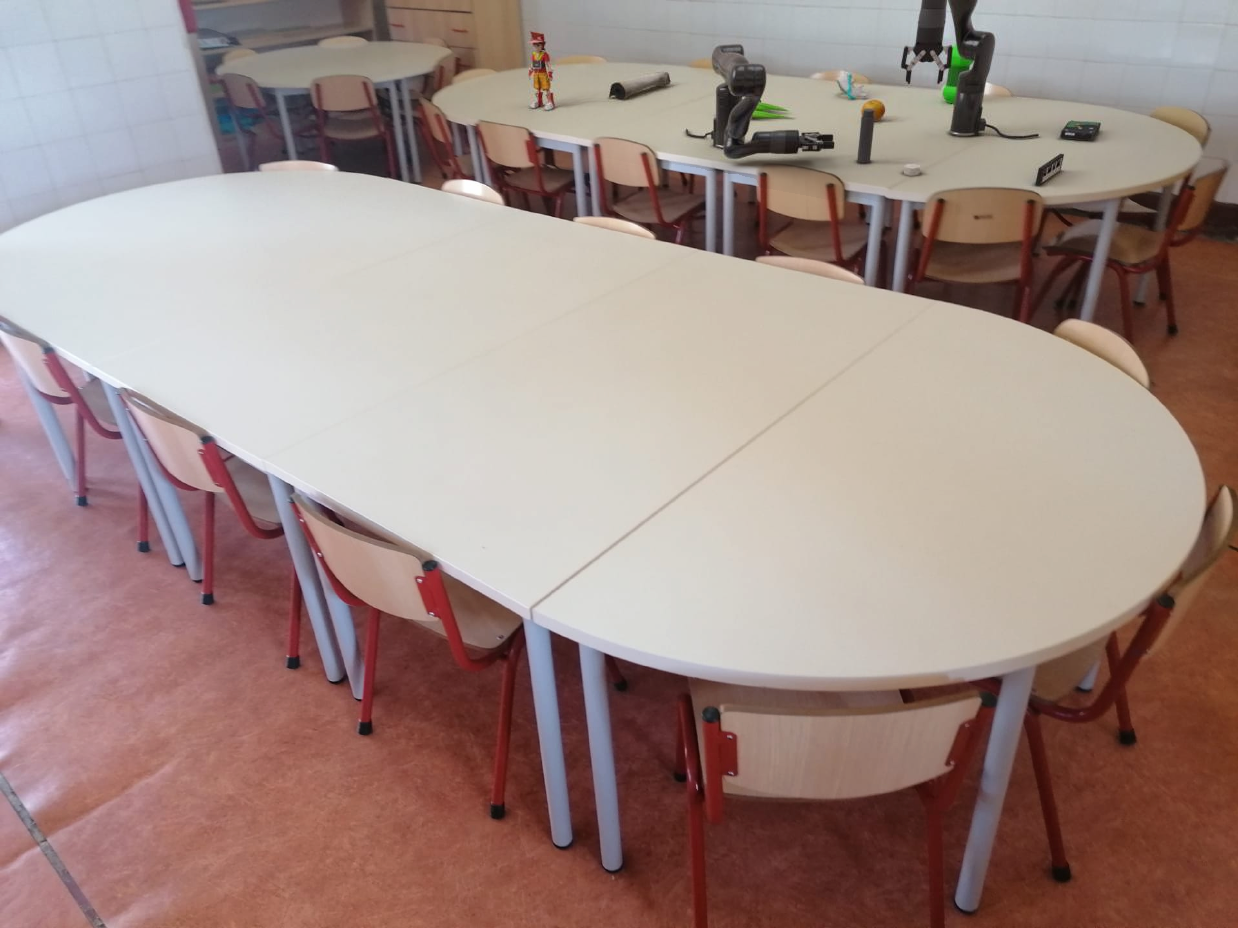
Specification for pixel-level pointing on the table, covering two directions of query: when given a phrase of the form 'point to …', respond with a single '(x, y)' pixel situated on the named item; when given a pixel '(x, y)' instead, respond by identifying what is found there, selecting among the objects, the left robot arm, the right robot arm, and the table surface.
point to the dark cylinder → (866, 136)
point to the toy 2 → (763, 114)
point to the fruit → (875, 108)
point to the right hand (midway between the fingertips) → (923, 83)
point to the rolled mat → (638, 84)
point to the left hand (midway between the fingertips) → (833, 141)
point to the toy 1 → (541, 71)
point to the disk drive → (1080, 130)
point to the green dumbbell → (954, 75)
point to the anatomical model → (850, 86)
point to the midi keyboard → (1049, 169)
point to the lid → (912, 169)
